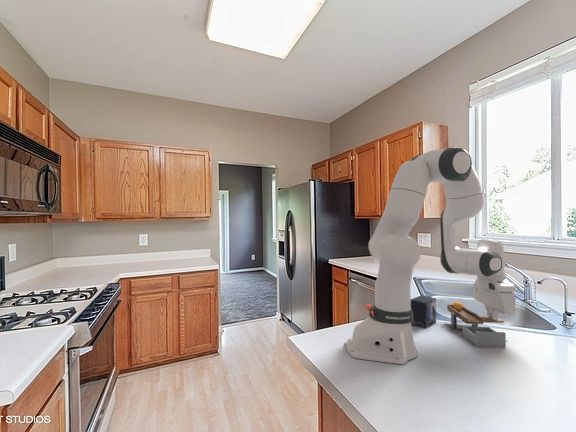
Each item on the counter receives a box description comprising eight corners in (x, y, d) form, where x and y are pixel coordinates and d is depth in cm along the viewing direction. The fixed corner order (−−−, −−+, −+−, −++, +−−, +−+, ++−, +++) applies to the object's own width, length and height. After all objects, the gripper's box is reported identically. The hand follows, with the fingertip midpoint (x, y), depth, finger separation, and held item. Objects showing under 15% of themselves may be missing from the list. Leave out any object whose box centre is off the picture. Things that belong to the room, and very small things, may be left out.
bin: (476, 347, 94) (476, 332, 94) (462, 335, 103) (462, 322, 103) (505, 348, 93) (505, 332, 93) (489, 336, 102) (488, 323, 102)
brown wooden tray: (465, 323, 103) (465, 317, 103) (446, 310, 118) (446, 304, 118) (506, 324, 102) (506, 318, 102) (482, 310, 117) (482, 305, 117)
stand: (453, 329, 109) (453, 314, 109) (448, 326, 113) (448, 311, 113) (480, 330, 108) (480, 315, 108) (475, 326, 112) (474, 312, 112)
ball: (455, 311, 114) (455, 302, 114) (451, 309, 117) (451, 300, 117) (464, 311, 113) (464, 303, 114) (460, 309, 117) (459, 300, 117)
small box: (425, 329, 110) (425, 302, 110) (409, 324, 115) (409, 299, 115) (437, 322, 117) (436, 297, 117) (421, 318, 122) (421, 294, 122)
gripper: (468, 276, 117) (469, 309, 116) (499, 288, 96) (500, 328, 96) (484, 276, 116) (485, 310, 115) (519, 288, 96) (520, 328, 95)
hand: (492, 318), depth 106 cm, fingers closed, pressing on brown wooden tray
